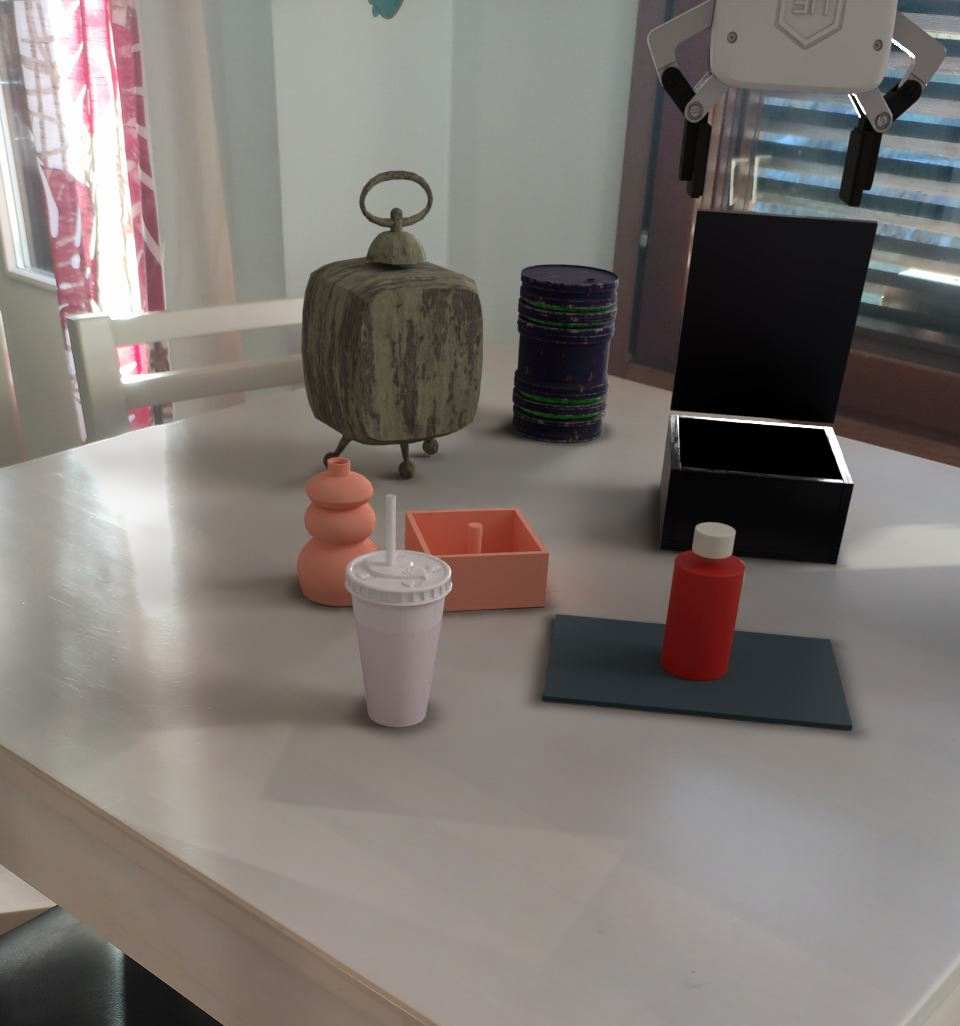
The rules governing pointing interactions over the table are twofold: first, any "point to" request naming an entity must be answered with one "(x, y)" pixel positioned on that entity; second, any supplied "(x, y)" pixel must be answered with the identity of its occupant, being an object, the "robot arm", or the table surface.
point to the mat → (736, 695)
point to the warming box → (755, 487)
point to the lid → (770, 314)
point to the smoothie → (397, 625)
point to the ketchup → (703, 605)
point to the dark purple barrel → (563, 351)
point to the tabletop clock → (392, 341)
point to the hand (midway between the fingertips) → (771, 199)
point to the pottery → (421, 546)
